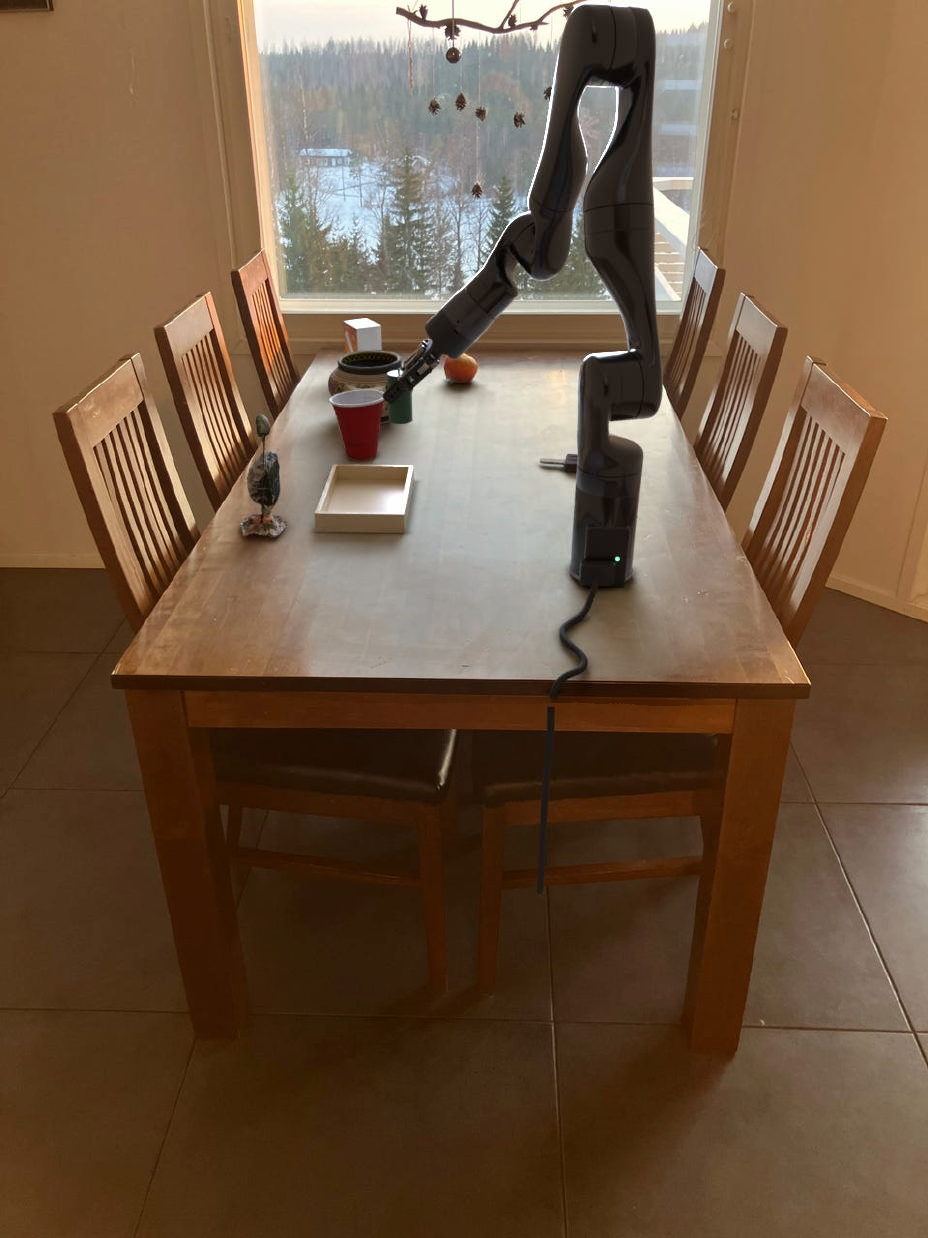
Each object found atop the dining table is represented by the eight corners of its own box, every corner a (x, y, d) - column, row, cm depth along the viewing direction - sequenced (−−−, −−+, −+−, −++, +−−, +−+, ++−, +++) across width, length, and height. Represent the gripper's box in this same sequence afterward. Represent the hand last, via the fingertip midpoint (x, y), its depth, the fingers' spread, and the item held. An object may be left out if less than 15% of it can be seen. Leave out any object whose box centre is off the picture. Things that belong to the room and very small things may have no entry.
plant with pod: (299, 514, 167) (289, 399, 156) (276, 543, 157) (264, 422, 147) (254, 510, 168) (241, 396, 158) (228, 539, 158) (213, 419, 148)
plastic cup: (354, 441, 197) (351, 383, 191) (399, 451, 192) (397, 391, 186) (321, 458, 189) (316, 397, 183) (366, 469, 184) (363, 407, 178)
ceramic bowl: (353, 411, 222) (332, 346, 215) (428, 393, 219) (410, 327, 211) (332, 449, 201) (308, 379, 194) (414, 431, 197) (393, 359, 190)
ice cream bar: (538, 469, 184) (618, 475, 182) (538, 461, 183) (619, 466, 181) (541, 459, 189) (619, 464, 187) (541, 451, 188) (620, 456, 186)
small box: (346, 375, 236) (342, 320, 230) (370, 371, 239) (367, 317, 233) (359, 384, 230) (356, 328, 224) (383, 380, 233) (381, 324, 226)
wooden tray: (404, 533, 160) (404, 514, 159) (315, 531, 161) (314, 513, 159) (414, 482, 179) (413, 465, 177) (334, 481, 179) (333, 464, 178)
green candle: (411, 424, 164) (410, 371, 159) (387, 423, 164) (385, 371, 159) (413, 416, 167) (412, 365, 163) (390, 416, 167) (387, 364, 163)
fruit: (430, 373, 233) (446, 342, 231) (456, 387, 237) (472, 356, 235) (444, 382, 226) (460, 351, 224) (471, 396, 231) (487, 365, 229)
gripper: (445, 295, 162) (375, 367, 168) (441, 315, 149) (366, 393, 156) (477, 328, 164) (407, 398, 171) (475, 351, 152) (400, 425, 158)
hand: (388, 395), depth 163 cm, fingers closed on green candle, 4 cm apart
